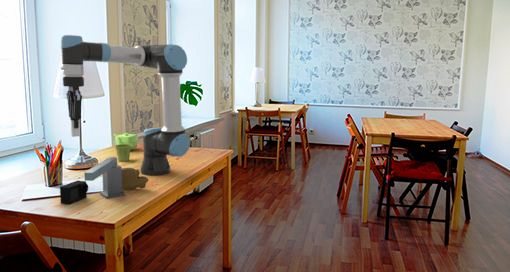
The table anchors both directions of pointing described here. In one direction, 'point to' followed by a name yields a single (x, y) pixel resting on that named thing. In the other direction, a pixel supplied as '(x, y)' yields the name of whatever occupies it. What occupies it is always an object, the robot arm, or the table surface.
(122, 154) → the plant pot
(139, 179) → the wooden carving
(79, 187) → the digital camera
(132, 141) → the kettle
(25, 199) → the table surface
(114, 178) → the pivot post
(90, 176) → the swing arm
